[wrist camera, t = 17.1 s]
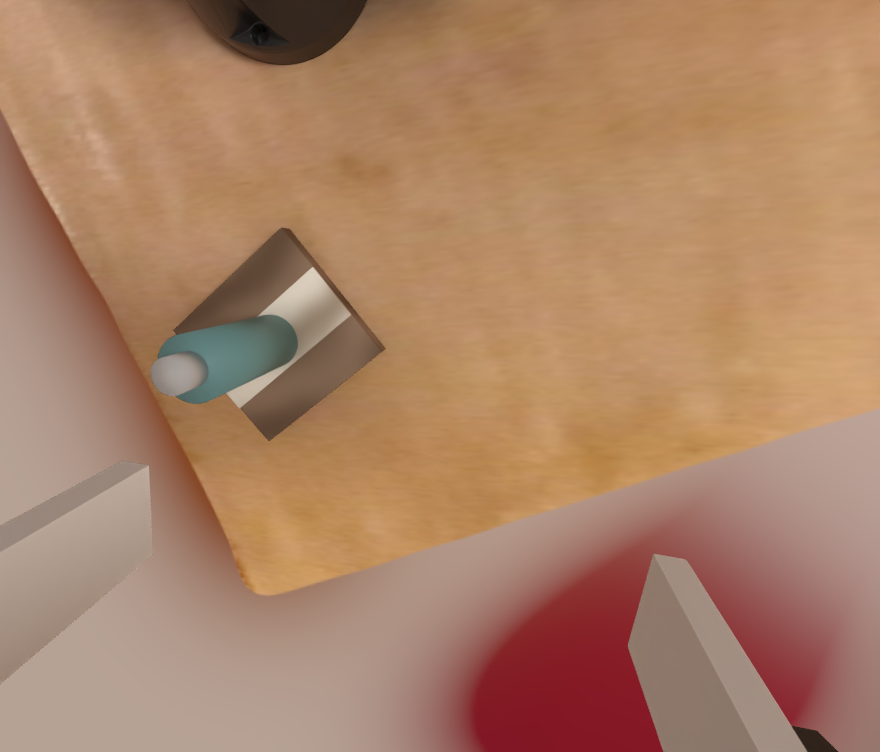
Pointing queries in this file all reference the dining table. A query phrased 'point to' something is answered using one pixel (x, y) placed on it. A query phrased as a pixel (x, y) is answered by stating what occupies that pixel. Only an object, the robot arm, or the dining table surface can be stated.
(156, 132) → the dining table surface
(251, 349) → the teal bottle with cap
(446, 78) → the dining table surface
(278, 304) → the brown cream striped panel
